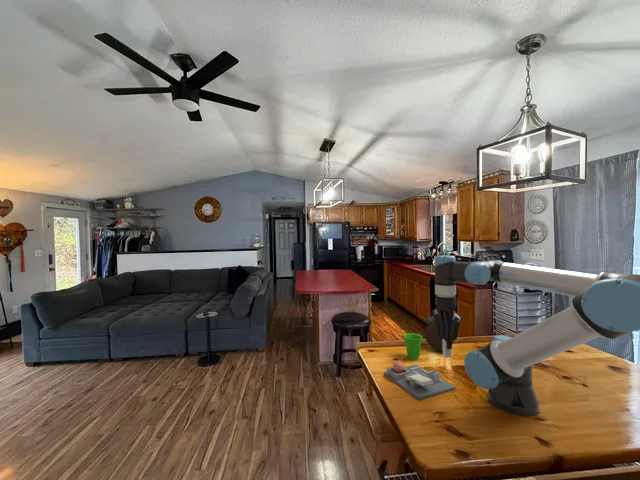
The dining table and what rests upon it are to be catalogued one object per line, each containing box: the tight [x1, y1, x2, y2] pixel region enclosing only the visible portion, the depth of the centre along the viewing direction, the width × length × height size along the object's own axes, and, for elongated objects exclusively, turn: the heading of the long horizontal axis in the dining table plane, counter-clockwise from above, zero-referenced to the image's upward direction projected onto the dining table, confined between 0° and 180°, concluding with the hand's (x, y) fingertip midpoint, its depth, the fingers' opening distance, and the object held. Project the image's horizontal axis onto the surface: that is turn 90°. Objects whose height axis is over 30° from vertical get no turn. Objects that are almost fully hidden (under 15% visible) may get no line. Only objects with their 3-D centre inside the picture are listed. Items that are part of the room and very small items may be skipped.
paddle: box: [405, 373, 433, 386], centre depth 114 cm, size 10×5×1 cm, turn 22°
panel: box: [383, 364, 456, 401], centre depth 118 cm, size 22×18×4 cm
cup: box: [403, 332, 423, 361], centre depth 141 cm, size 9×9×11 cm
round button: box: [392, 360, 405, 374], centre depth 122 cm, size 4×4×3 cm
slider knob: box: [427, 369, 440, 383], centre depth 117 cm, size 3×3×4 cm
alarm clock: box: [423, 312, 455, 351], centre depth 150 cm, size 14×7×20 cm, turn 36°
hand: (446, 356), depth 110 cm, fingers closed
